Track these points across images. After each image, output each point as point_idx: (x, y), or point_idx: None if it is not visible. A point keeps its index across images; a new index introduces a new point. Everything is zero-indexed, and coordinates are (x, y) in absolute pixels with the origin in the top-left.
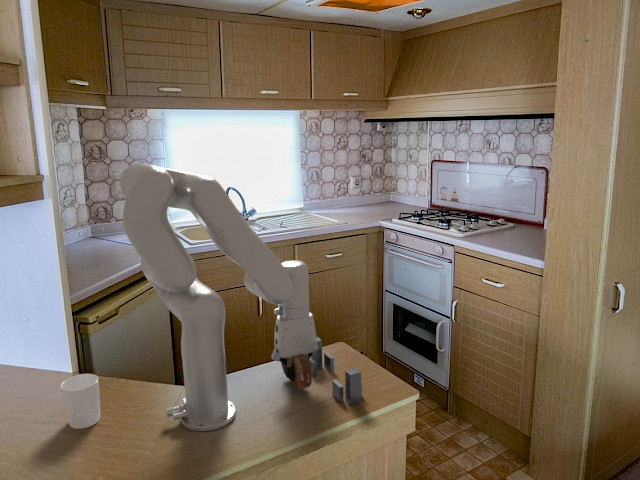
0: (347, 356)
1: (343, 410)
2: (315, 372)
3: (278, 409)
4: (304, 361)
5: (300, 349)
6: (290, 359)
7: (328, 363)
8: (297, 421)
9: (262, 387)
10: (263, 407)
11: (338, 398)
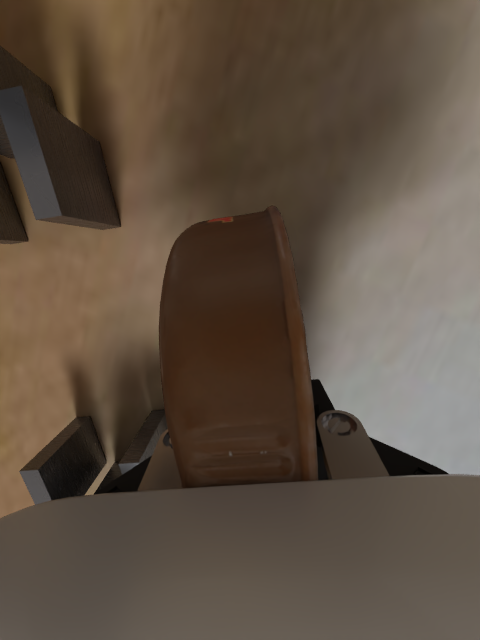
0: (6, 495)
1: (96, 46)
2: (150, 421)
3: (410, 193)
4: (223, 330)
5: (228, 612)
6: (344, 471)
7: (73, 456)
8: (369, 18)
9: (395, 405)
10: (468, 240)
11: (94, 152)
